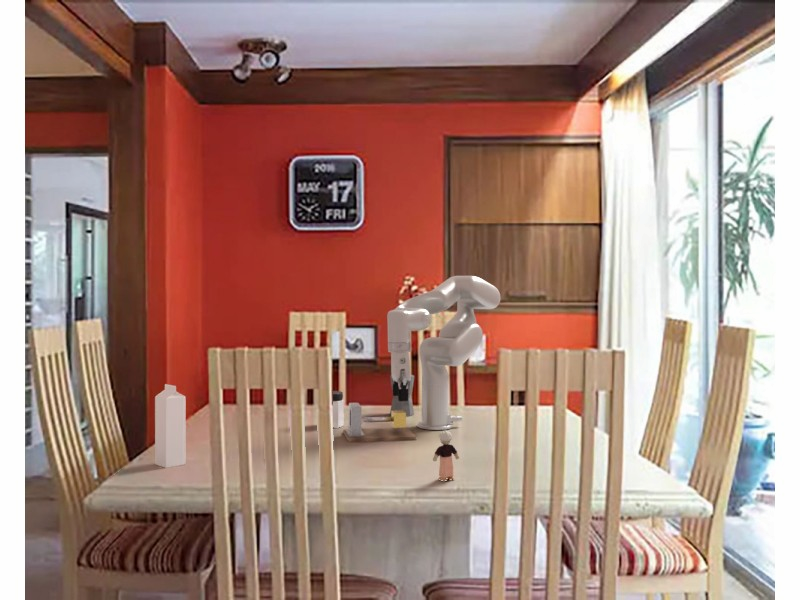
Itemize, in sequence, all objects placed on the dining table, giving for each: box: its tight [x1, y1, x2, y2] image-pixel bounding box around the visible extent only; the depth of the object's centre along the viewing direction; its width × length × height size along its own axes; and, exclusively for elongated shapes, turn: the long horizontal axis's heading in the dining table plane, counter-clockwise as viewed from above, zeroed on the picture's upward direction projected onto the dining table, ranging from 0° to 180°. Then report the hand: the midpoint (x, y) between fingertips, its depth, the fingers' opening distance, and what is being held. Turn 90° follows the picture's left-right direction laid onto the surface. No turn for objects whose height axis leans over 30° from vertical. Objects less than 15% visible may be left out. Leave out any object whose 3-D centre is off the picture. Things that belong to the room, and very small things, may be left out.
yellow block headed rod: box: [362, 410, 407, 428], centre depth 241 cm, size 14×5×5 cm, turn 101°
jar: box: [332, 390, 345, 429], centre depth 257 cm, size 9×8×12 cm
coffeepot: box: [389, 374, 415, 417], centre depth 280 cm, size 15×9×18 cm, turn 178°
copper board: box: [342, 427, 417, 443], centre depth 241 cm, size 22×15×1 cm
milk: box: [154, 383, 187, 469], centre depth 201 cm, size 6×6×22 cm
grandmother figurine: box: [432, 430, 460, 481], centre depth 188 cm, size 8×4×13 cm, turn 131°
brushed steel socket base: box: [345, 402, 365, 437], centre depth 240 cm, size 5×10×10 cm, turn 11°
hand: (400, 398), depth 243 cm, fingers open, 9 cm apart
